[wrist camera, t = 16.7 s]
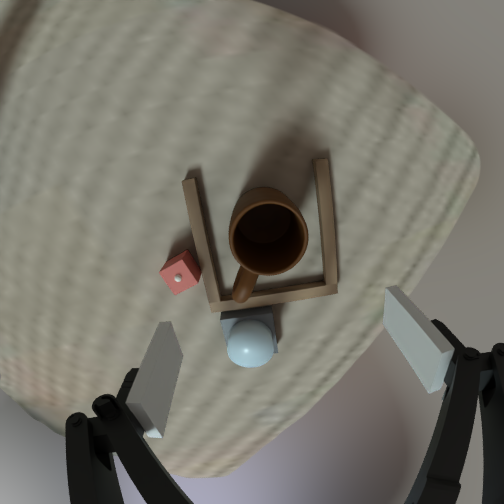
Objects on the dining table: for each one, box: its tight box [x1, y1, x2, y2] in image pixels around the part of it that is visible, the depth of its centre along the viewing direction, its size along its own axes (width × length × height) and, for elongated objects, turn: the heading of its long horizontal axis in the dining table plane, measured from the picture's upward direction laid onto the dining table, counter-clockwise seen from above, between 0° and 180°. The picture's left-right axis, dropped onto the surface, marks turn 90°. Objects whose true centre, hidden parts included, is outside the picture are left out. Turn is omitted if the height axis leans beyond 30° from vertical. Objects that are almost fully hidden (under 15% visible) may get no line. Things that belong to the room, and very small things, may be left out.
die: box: [159, 250, 202, 295], centre depth 35 cm, size 4×4×4 cm
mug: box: [229, 187, 308, 303], centre depth 31 cm, size 12×8×9 cm, turn 157°
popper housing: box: [220, 305, 278, 353], centre depth 40 cm, size 7×7×2 cm
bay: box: [182, 158, 338, 313], centre depth 35 cm, size 17×18×2 cm
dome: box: [227, 320, 274, 367], centre depth 37 cm, size 6×6×3 cm
